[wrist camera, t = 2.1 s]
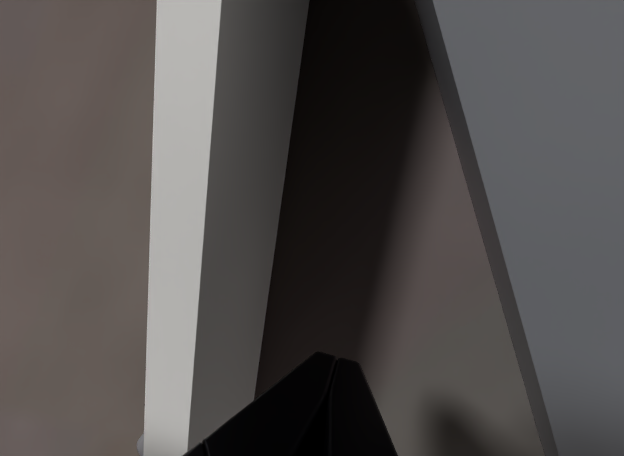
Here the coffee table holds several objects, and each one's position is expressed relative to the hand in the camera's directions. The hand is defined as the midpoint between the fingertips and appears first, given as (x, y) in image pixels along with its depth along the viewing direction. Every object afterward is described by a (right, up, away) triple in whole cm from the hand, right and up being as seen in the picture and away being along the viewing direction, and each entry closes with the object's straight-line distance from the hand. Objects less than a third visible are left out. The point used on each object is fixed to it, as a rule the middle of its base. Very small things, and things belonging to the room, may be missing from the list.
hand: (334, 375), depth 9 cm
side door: (-2, +5, +4) cm, 7 cm away
